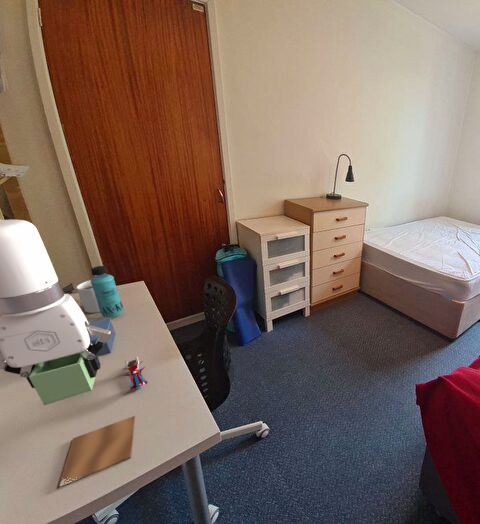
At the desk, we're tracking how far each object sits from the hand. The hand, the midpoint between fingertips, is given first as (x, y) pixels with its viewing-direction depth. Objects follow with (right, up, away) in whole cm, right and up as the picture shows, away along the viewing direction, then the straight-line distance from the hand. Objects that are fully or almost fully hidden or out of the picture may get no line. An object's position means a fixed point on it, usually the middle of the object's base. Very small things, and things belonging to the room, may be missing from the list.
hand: (70, 379), depth 52 cm
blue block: (-29, -5, +35) cm, 46 cm away
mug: (-44, +4, +57) cm, 72 cm away
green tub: (0, -2, +1) cm, 2 cm away
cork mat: (-1, -18, +7) cm, 19 cm away
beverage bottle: (-35, +2, +51) cm, 62 cm away
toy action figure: (-6, -11, +25) cm, 28 cm away
